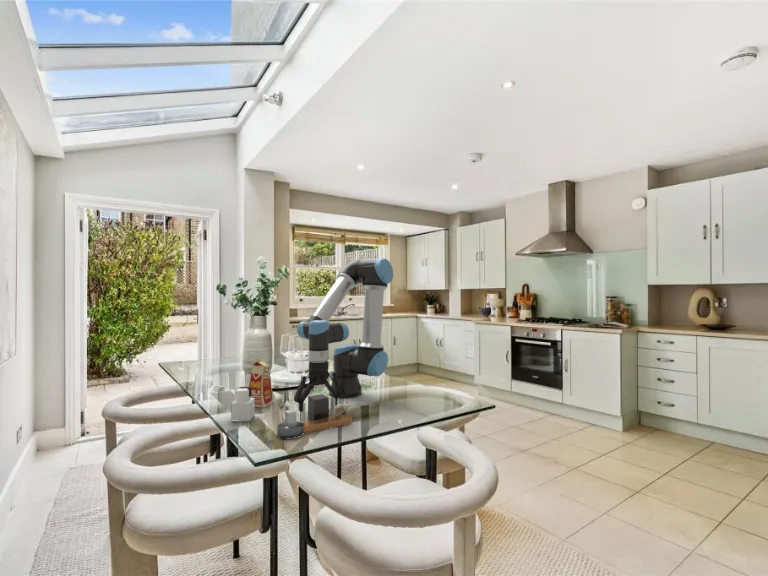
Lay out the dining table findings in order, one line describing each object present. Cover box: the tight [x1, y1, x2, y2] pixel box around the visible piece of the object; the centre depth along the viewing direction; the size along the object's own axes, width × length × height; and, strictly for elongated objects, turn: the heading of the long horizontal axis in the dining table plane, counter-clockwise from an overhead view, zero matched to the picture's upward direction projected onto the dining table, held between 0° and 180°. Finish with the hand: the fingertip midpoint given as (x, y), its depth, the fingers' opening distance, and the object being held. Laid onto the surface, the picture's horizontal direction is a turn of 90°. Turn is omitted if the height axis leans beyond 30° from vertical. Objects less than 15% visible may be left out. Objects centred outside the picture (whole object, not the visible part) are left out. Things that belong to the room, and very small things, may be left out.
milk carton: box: [248, 358, 274, 408], centre depth 176 cm, size 9×9×20 cm
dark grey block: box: [307, 393, 330, 421], centre depth 156 cm, size 6×6×9 cm
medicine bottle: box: [230, 386, 255, 422], centre depth 157 cm, size 7×7×12 cm
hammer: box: [276, 409, 352, 439], centre depth 147 cm, size 28×9×8 cm, turn 123°
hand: (318, 416), depth 156 cm, fingers open, 12 cm apart
